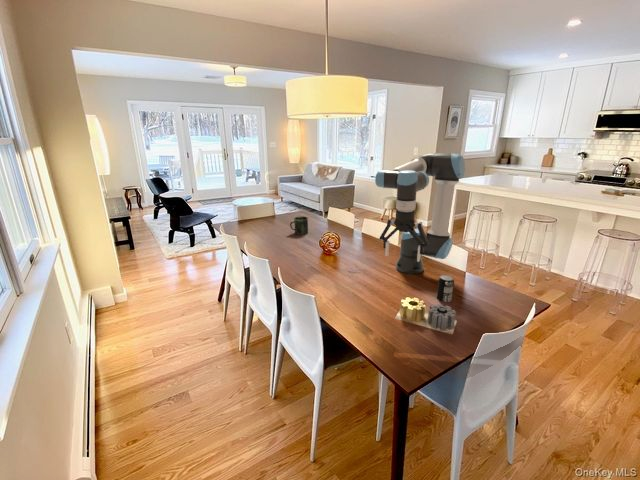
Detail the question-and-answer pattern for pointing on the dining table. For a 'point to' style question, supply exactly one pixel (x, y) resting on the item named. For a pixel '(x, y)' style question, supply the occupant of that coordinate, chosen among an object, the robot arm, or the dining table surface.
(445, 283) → the beverage can
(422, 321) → the gear board
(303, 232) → the mug
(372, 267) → the dining table surface
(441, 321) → the gear
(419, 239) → the robot arm
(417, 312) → the brass gear
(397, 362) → the dining table surface
